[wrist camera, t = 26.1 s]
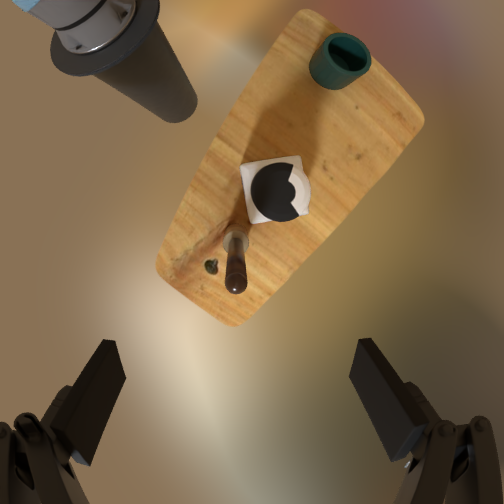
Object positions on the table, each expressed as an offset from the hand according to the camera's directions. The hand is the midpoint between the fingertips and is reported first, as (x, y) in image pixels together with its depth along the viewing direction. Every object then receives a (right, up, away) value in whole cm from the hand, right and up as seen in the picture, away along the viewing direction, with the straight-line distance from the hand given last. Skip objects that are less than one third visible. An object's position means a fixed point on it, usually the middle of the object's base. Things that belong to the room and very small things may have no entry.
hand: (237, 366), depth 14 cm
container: (+3, +16, +28) cm, 32 cm away
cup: (+13, +35, +23) cm, 44 cm away
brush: (-2, +8, +29) cm, 31 cm away
